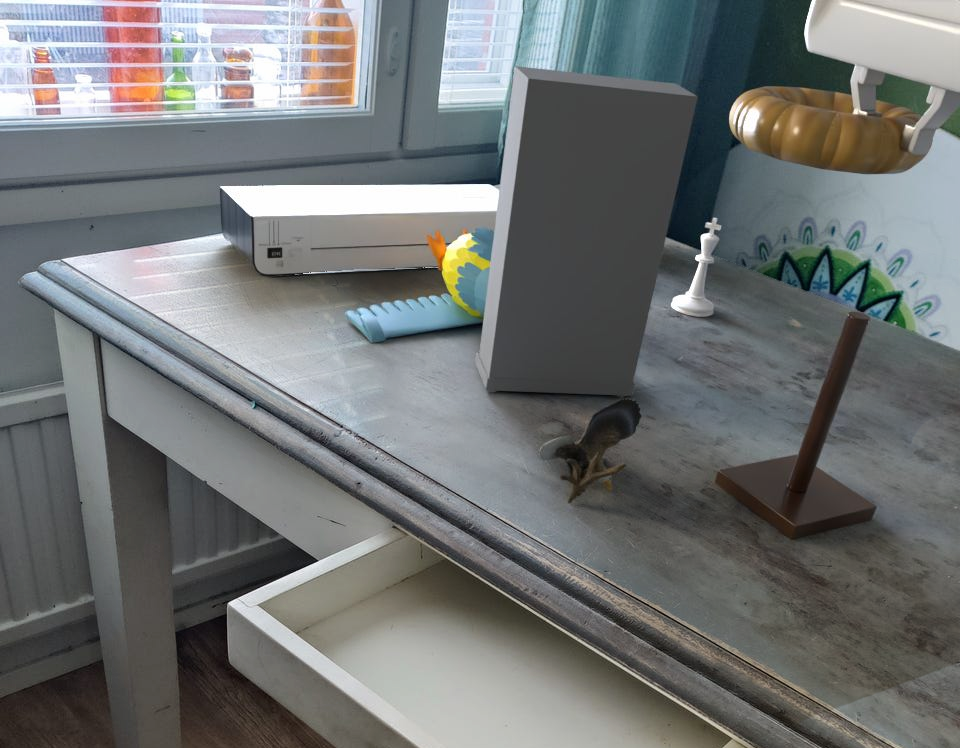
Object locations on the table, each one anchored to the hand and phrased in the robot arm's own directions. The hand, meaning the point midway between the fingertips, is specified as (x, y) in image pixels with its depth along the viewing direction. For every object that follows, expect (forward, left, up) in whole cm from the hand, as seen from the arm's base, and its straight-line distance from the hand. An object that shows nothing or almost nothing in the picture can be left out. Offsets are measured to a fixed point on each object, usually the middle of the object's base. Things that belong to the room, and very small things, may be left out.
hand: (885, 143), depth 77 cm
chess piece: (-10, -27, -24) cm, 37 cm away
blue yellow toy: (+17, -29, -24) cm, 41 cm away
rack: (+11, +11, -24) cm, 29 cm away
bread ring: (0, -6, 0) cm, 6 cm away
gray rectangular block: (+18, -14, -24) cm, 33 cm away
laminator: (+19, -49, -24) cm, 58 cm away
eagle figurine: (+26, +3, -24) cm, 36 cm away
